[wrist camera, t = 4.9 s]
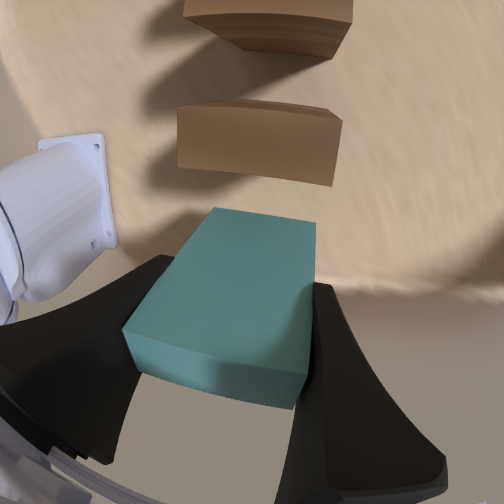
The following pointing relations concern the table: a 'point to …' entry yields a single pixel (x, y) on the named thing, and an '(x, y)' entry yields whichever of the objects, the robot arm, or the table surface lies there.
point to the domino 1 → (276, 23)
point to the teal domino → (232, 310)
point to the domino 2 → (259, 139)
